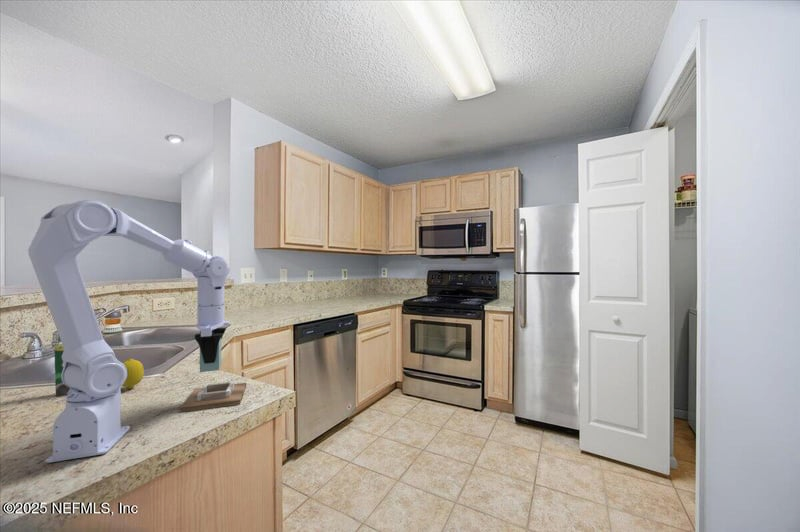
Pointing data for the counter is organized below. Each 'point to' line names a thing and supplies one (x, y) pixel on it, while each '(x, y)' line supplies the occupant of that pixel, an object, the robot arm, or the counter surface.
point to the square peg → (211, 366)
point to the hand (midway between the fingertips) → (211, 360)
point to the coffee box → (59, 371)
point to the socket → (214, 396)
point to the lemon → (133, 373)
